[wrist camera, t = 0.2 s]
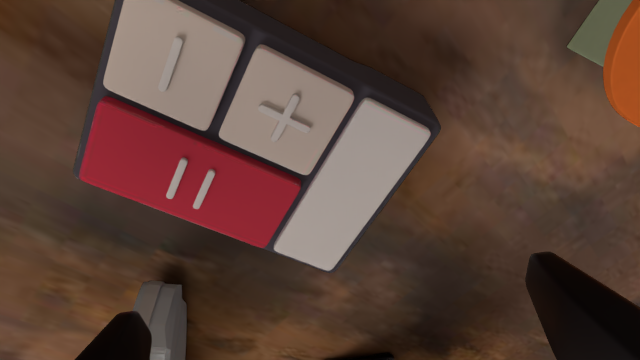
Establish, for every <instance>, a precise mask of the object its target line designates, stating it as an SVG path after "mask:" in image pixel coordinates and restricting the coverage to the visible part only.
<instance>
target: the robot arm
mask: <svg viewBox="0 0 640 360" xmlns="http://www.w3.org/2000/svg"><path fill="white" fill-rule="evenodd" d="M525 282H526V287H527V290H528V292H529V295H530V297H531V300H532V302H533V305H534V307H535V310H536V312H537V314H538V317H539V319H540V322H541V324H542V327H543V329H544V332H545V334H546V336H547V339H548V341H549V344H550V346H551V348H552V351H553V353H554V355H555V357H556V359H557V360H640V307H639V306H637V305H635V304H634V303H632V302H631V301H629V300H627V299H626V298H624V297H623V296H621V295H619V294H618V293H616V292H615V291H613V290H611V289H610V288H608V287H607V286H605V285H604V284H602V283H600V282H599V281H597V280H596V279H594V278H592V277H591V276H589V275H588V274H586V273H584V272H583V271H581V270H580V269H578V268H576V267H575V266H573V265H572V264H570V263H569V262H567V261H565V260H564V259H562V258H561V257H559V256H557V255H556V254H554V253H552V252H541V253H534V254H532V255H531V256H530V258H529V263H528V268H527V273H526V278H525ZM151 345H152V335H151V332H150V330H149V328H148V327H147V325H146V323H145V322H144V320H143V318H142V317H141V315H140V314H139V313H138V312H137V311H130V312H123V313H119V314H118V315H116V316H115V317H114V318H113V319H112V320H111V321H110V322H109V324H108V325H107V326H106V327H105V328H104V329H103V330H102V331H101V332H100V333H99V334H98V335H97V336H96V337H95V339H94V340H93V341H92V342H91V343H90V344H89V345H88V346H87V347H86V348H85V349H84V350H83V351H82V352H81V353H80V355H79V356H78V357H77V358H76V359H75V360H150V353H151ZM345 360H394V356H393V354H390V353H387V354H380V355H373V356H366V357H359V358H352V359H345Z"/></svg>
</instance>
